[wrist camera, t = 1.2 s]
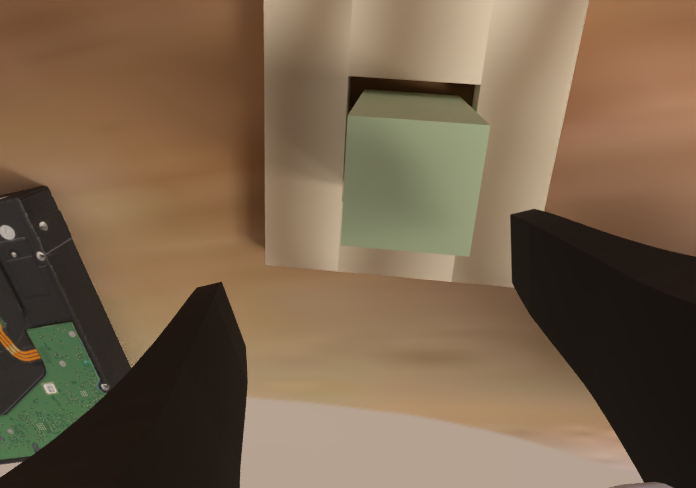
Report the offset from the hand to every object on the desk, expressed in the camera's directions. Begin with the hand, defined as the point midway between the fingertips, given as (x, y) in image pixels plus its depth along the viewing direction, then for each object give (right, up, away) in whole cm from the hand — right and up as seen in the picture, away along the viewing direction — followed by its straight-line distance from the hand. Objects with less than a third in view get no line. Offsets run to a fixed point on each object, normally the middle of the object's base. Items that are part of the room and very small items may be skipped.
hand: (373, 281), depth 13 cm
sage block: (+2, +6, +10) cm, 12 cm away
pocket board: (+2, +6, +10) cm, 11 cm away
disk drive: (-18, -3, +16) cm, 25 cm away
